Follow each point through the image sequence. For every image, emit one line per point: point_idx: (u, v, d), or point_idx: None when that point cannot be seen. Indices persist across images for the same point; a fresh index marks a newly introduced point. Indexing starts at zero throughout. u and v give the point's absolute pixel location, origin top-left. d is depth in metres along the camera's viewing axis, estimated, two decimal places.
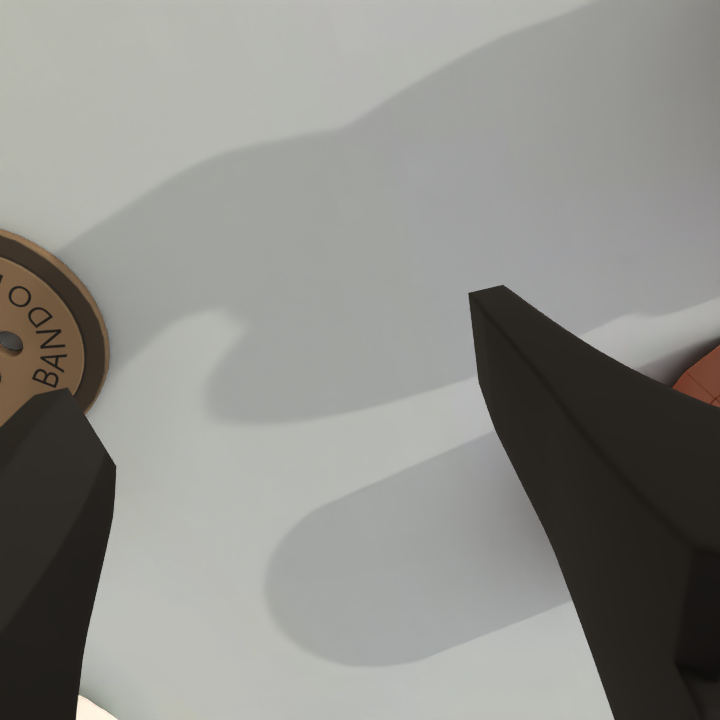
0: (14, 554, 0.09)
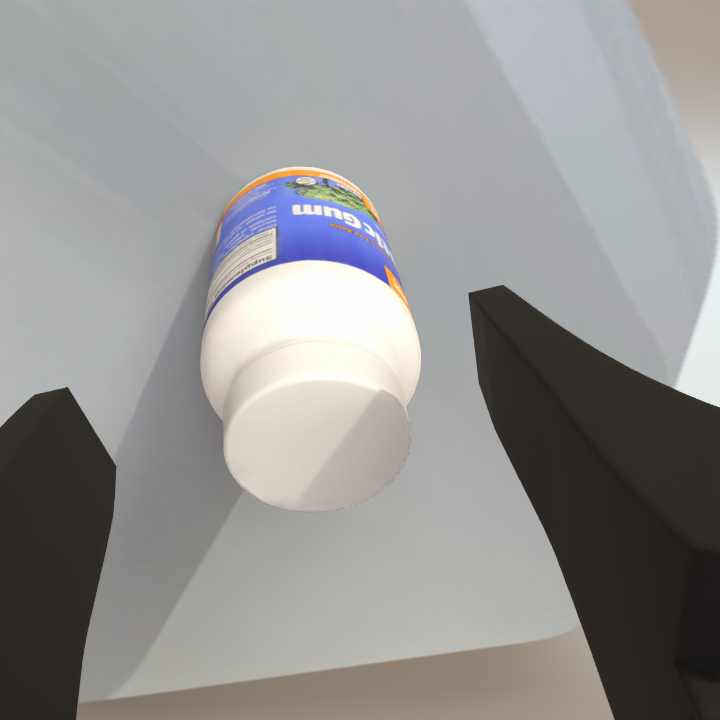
0: (14, 554, 0.09)
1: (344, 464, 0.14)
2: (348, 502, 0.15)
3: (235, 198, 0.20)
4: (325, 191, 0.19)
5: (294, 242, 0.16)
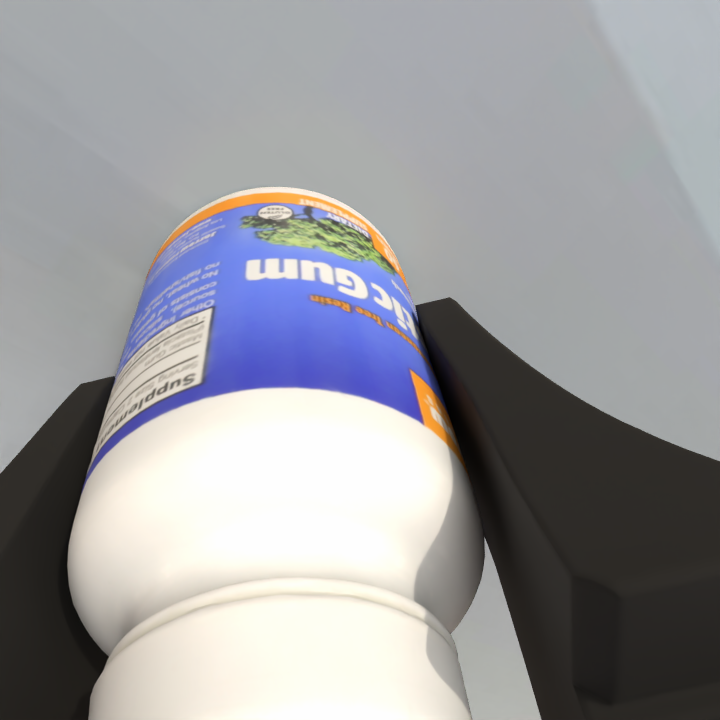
0: None
1: None
2: None
3: (166, 242, 0.12)
4: (307, 230, 0.11)
5: (240, 344, 0.08)
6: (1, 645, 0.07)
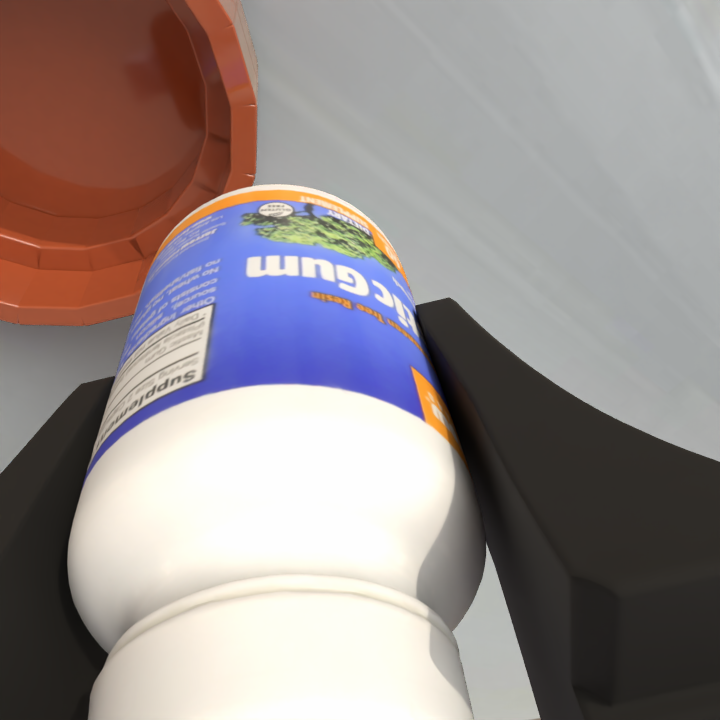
0: None
1: None
2: None
3: (167, 239, 0.12)
4: (308, 227, 0.11)
5: (241, 340, 0.08)
6: (1, 645, 0.07)
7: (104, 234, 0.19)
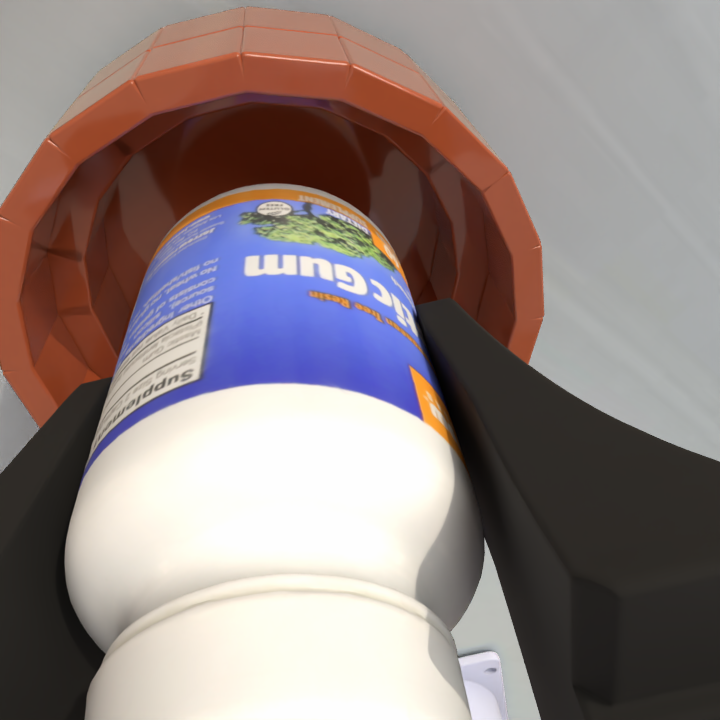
0: None
1: None
2: None
3: (165, 238, 0.12)
4: (306, 226, 0.11)
5: (238, 339, 0.08)
6: (1, 645, 0.07)
7: None
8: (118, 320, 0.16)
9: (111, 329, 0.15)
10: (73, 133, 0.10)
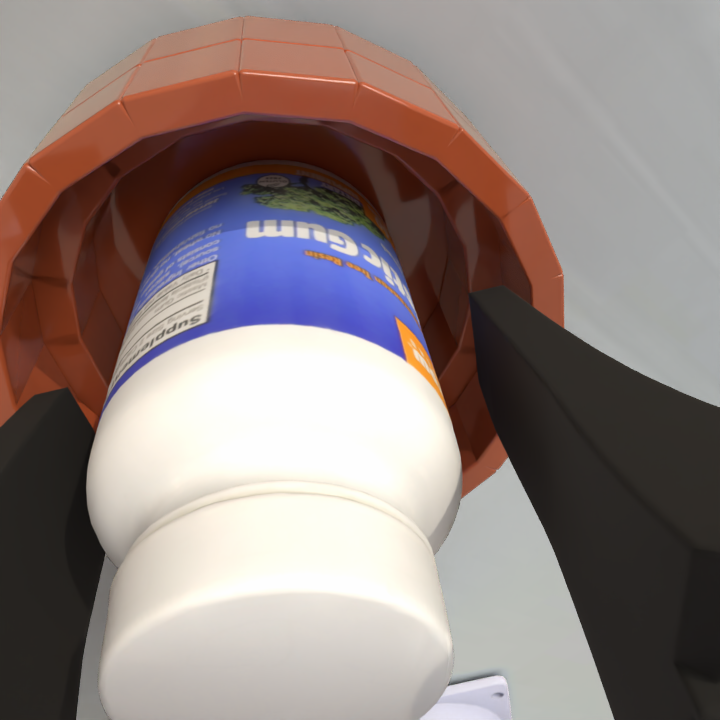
0: (14, 554, 0.09)
1: (332, 707, 0.08)
2: None
3: (172, 211, 0.13)
4: (302, 196, 0.12)
5: (241, 290, 0.09)
6: None
7: None
8: (109, 347, 0.15)
9: (101, 358, 0.14)
10: (55, 158, 0.09)
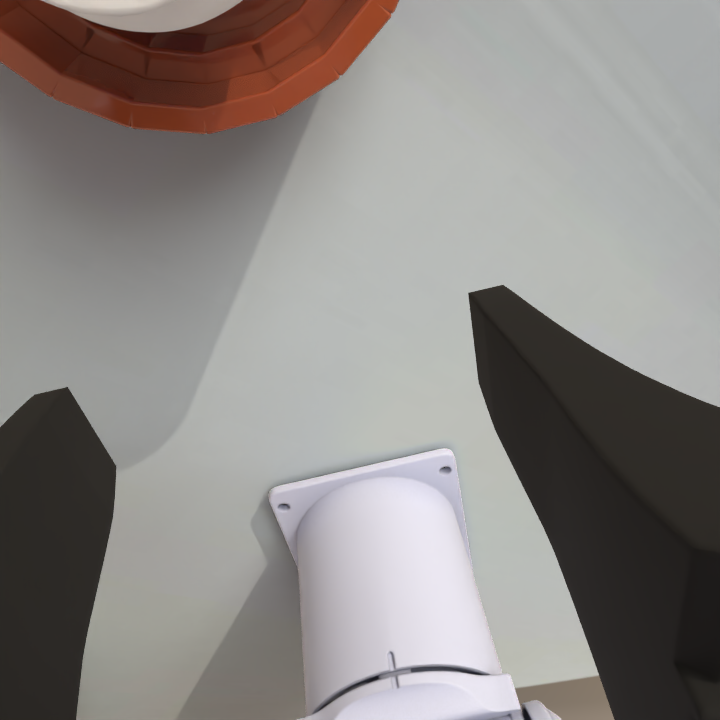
0: (14, 554, 0.09)
1: None
2: None
3: None
4: None
5: None
6: None
7: (220, 43, 0.16)
8: None
9: None
10: None
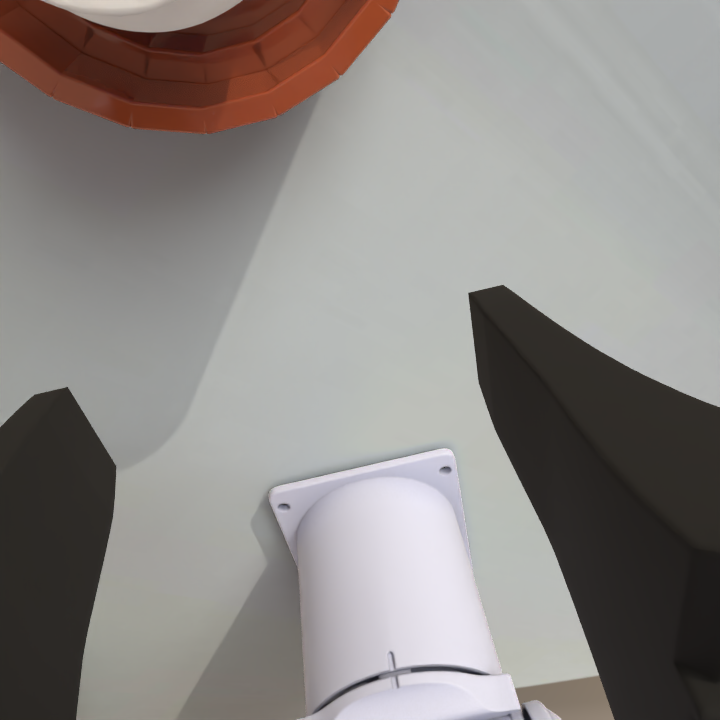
0: (14, 554, 0.09)
1: None
2: None
3: None
4: None
5: None
6: None
7: (220, 43, 0.16)
8: None
9: None
10: None
